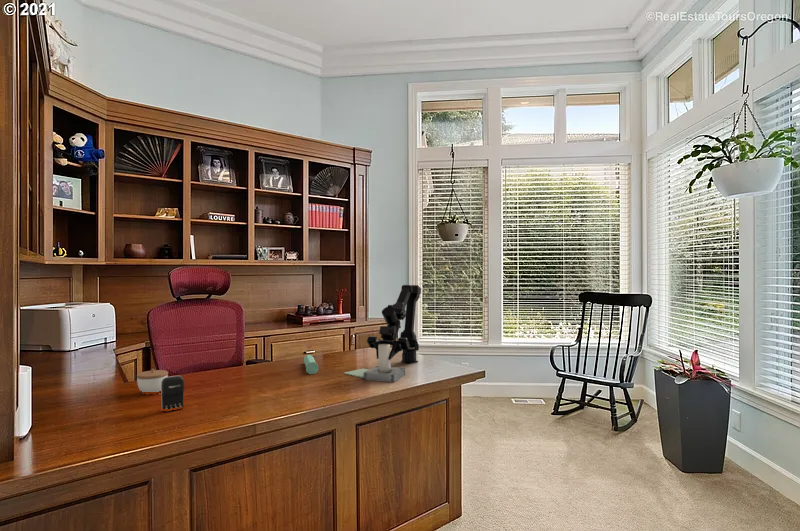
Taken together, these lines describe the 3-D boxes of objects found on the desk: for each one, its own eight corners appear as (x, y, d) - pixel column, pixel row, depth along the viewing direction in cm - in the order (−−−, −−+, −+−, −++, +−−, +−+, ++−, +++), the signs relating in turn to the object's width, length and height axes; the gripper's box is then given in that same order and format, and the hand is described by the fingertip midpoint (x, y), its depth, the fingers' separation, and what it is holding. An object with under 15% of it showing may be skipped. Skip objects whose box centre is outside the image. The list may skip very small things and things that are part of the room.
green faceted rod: (305, 351, 237) (308, 360, 213) (316, 355, 238) (320, 364, 214) (300, 362, 236) (303, 372, 212) (311, 366, 237) (315, 376, 213)
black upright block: (163, 413, 156) (163, 379, 156) (160, 411, 159) (160, 377, 159) (185, 409, 161) (185, 376, 161) (182, 407, 164) (182, 374, 164)
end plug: (386, 372, 209) (385, 343, 209) (392, 374, 205) (392, 345, 204) (376, 374, 206) (376, 344, 206) (382, 376, 202) (382, 346, 201)
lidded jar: (132, 393, 182) (132, 369, 182) (161, 387, 190) (161, 364, 190) (142, 398, 175) (142, 373, 175) (172, 392, 183) (172, 368, 183)
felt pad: (363, 369, 221) (363, 368, 221) (381, 373, 213) (381, 372, 213) (343, 373, 213) (343, 372, 213) (362, 377, 204) (362, 376, 204)
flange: (376, 372, 215) (376, 366, 215) (405, 374, 210) (405, 368, 210) (363, 379, 201) (363, 372, 201) (394, 382, 197) (394, 375, 197)
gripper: (368, 318, 212) (358, 346, 202) (407, 319, 206) (398, 349, 195) (375, 333, 219) (365, 361, 209) (413, 335, 213) (405, 364, 203)
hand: (383, 359), depth 204 cm, fingers closed on end plug, 5 cm apart
